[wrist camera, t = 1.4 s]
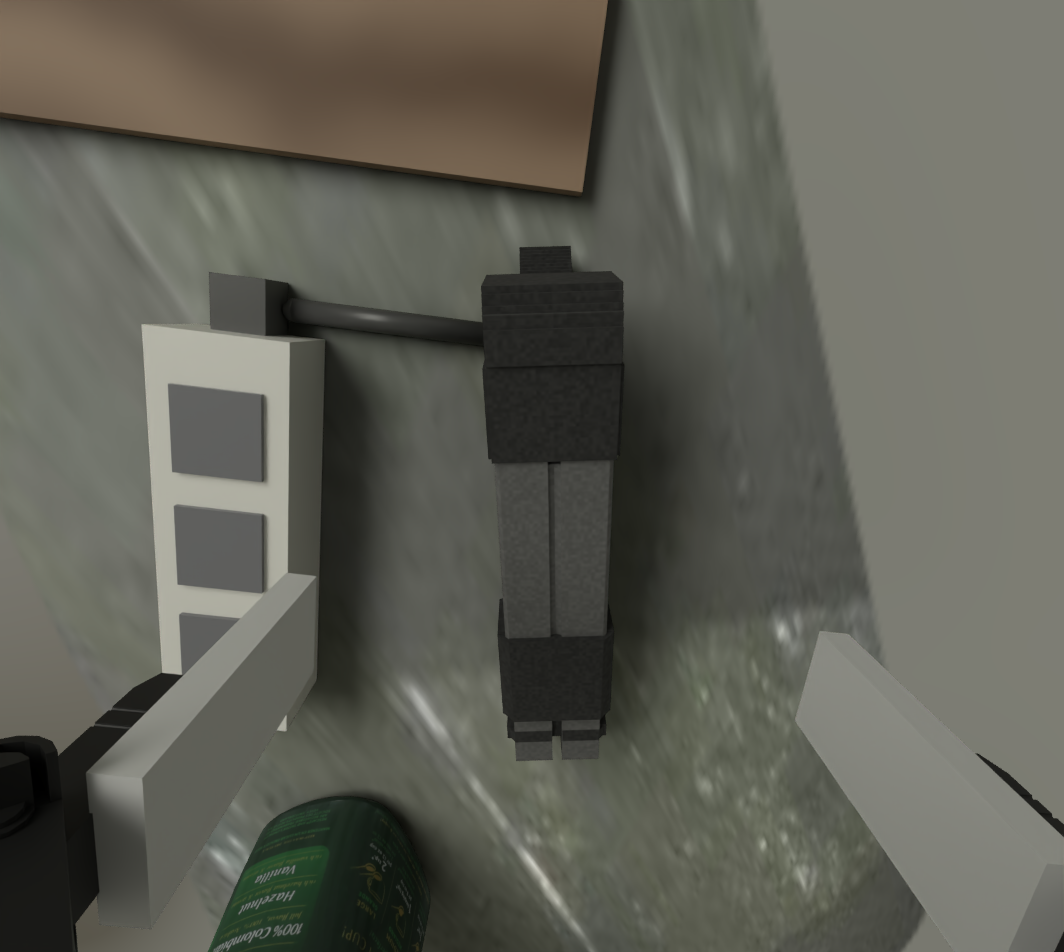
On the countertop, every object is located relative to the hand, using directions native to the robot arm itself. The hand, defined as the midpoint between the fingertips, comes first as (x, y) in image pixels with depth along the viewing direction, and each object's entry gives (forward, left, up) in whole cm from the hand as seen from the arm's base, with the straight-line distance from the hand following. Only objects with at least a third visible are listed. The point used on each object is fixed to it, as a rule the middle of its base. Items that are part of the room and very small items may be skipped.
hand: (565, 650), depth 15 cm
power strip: (+1, -9, -11) cm, 14 cm away
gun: (0, 0, -11) cm, 11 cm away
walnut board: (-16, -13, -11) cm, 23 cm away
